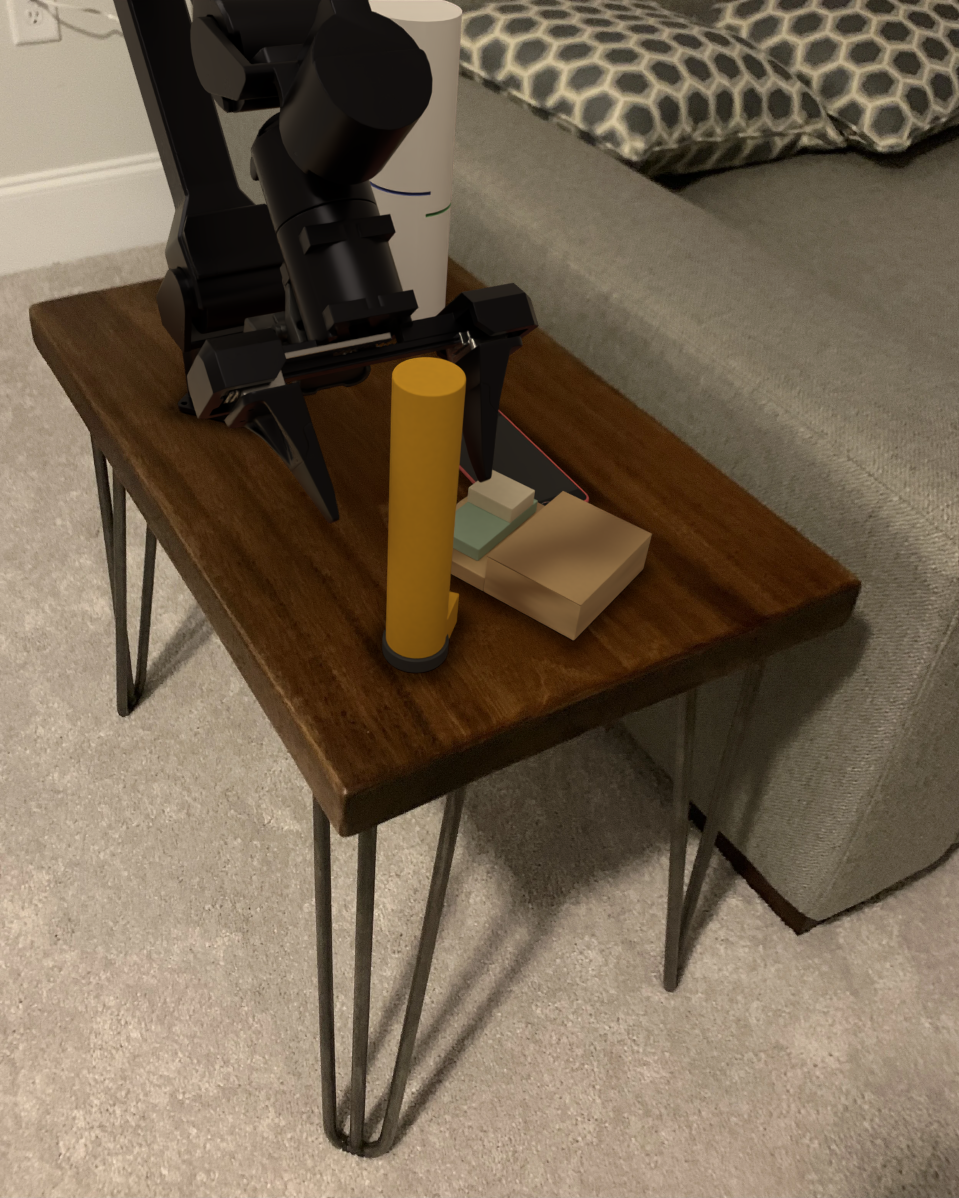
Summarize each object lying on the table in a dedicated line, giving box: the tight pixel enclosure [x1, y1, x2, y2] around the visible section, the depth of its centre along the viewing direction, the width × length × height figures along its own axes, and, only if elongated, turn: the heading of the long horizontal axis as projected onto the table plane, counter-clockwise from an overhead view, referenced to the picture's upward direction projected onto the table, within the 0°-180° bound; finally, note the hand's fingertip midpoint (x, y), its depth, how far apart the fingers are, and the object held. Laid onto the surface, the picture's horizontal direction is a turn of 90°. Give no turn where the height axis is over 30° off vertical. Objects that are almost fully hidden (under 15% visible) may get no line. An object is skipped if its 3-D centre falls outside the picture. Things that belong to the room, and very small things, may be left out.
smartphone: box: [459, 409, 590, 506], centre depth 78 cm, size 7×1×14 cm
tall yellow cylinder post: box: [381, 356, 466, 674], centre depth 57 cm, size 5×4×19 cm
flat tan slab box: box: [451, 491, 653, 641], centre depth 69 cm, size 13×9×3 cm
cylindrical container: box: [368, 0, 463, 321], centre depth 85 cm, size 7×7×25 cm
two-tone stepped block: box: [453, 470, 538, 561], centre depth 70 cm, size 7×4×2 cm, turn 144°
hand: (412, 500), depth 57 cm, fingers open, 9 cm apart
